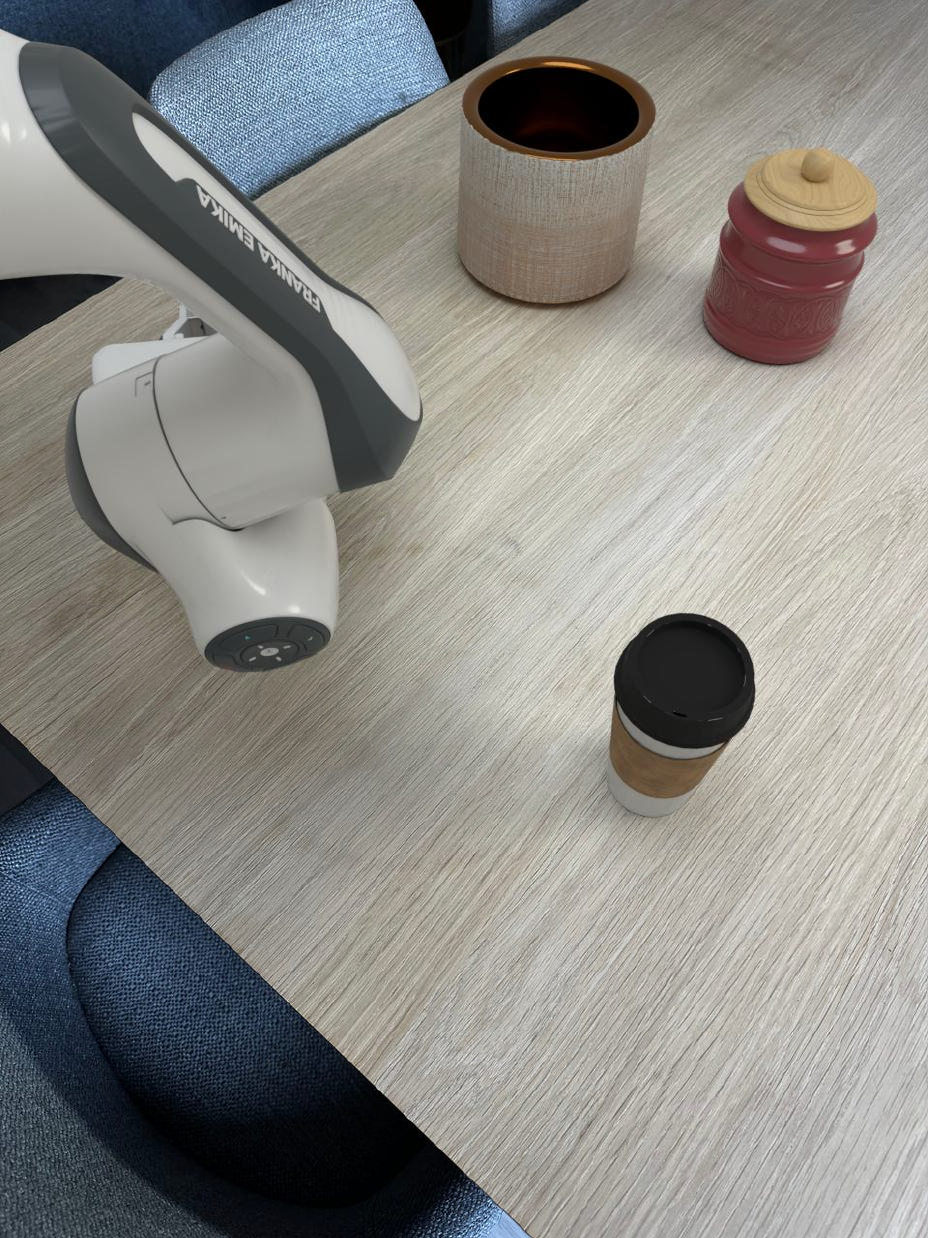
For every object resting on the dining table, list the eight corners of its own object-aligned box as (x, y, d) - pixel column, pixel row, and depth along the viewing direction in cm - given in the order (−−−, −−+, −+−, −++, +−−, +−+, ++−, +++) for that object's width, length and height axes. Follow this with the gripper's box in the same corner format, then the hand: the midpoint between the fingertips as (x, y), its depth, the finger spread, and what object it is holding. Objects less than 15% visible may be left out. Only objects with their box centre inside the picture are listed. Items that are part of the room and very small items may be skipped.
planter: (661, 241, 107) (692, 91, 94) (575, 335, 98) (597, 184, 85) (515, 183, 112) (526, 33, 99) (422, 267, 104) (420, 115, 91)
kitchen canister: (714, 267, 105) (759, 95, 90) (843, 297, 103) (910, 125, 88) (686, 348, 98) (730, 175, 83) (824, 381, 95) (894, 210, 81)
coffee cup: (574, 812, 70) (603, 701, 58) (605, 710, 75) (638, 587, 63) (696, 851, 69) (752, 746, 57) (719, 745, 74) (777, 626, 61)
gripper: (416, 393, 65) (389, 257, 72) (78, 425, 62) (88, 281, 70) (417, 464, 70) (392, 329, 77) (106, 496, 67) (112, 354, 75)
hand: (245, 307), depth 74 cm, fingers closed on beverage can, 6 cm apart
